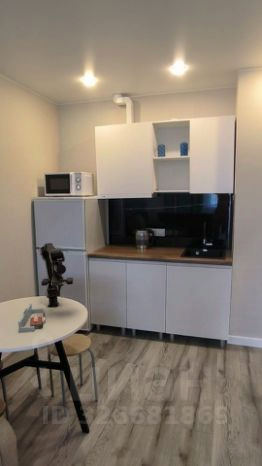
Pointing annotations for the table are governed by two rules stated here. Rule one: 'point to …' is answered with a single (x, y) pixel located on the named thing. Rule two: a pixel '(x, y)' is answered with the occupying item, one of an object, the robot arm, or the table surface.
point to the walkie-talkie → (38, 321)
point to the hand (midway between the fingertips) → (58, 294)
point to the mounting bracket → (25, 318)
